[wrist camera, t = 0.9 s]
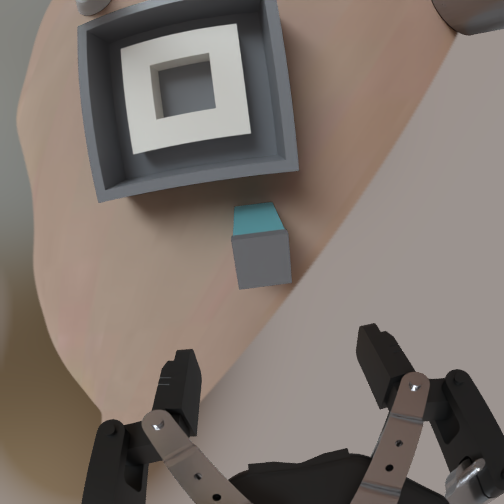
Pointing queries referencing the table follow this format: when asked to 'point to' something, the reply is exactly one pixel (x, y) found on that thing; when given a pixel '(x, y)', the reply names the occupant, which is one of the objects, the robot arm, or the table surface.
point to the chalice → (91, 6)
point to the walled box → (185, 95)
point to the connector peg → (260, 246)
